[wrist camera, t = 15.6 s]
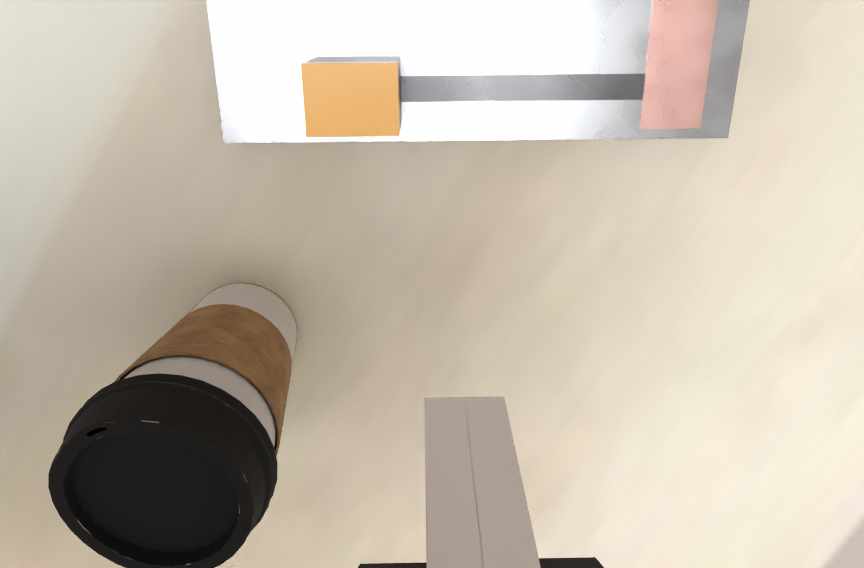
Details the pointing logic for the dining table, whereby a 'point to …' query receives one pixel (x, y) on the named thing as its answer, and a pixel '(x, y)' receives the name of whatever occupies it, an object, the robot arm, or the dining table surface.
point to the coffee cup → (183, 438)
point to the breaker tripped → (352, 96)
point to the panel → (489, 66)
